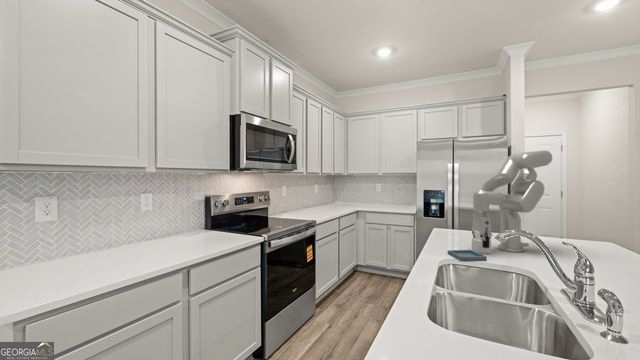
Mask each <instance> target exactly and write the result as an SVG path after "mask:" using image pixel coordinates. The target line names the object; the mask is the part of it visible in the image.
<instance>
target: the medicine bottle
mask: <svg viewBox="0 0 640 360" xmlns="http://www.w3.org/2000/svg"><path fill="white" fill-rule="evenodd" d="M485 235H486V234H485ZM475 237H476V238H473V237H471V250H472V251H475V252H477V253H479V254H482V255H485V254H486V255H488V254H492V241H491V240H490V241H489V248H483V240H484V239H483V236H482V235H480V232H479V231H475ZM486 237H487V236H485V238H486Z"/></svg>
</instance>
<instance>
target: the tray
mask: <svg viewBox="0 0 640 360" xmlns="http://www.w3.org/2000/svg"><path fill="white" fill-rule="evenodd" d="M447 255H449V256H451V257H452V256H453V257H452V258H454V257H455V259H457V260H459V261H460V262H480V261H481V262H484V261H485V262H486V261H488V260H487V256H486V255H485V254H479V253H477V252H475V251H473V250H472V249H449V250H447Z"/></svg>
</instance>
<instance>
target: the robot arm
mask: <svg viewBox="0 0 640 360" xmlns="http://www.w3.org/2000/svg"><path fill="white" fill-rule="evenodd" d="M552 161H553V155H552V153H551V152H550V151H549V150H544V149H543V150H536V151H527V152H525V151H524V152H522V153H517V154H510V155H509V156H508V157H507V158H506V160H505V161H504V162H503V165H502V166H501V168H500V169H499V170H498V172H497V174H495V175H494V176H492V177H491V178H489V179H487V180H486V181H485V182H484V183H483V184H482V186H481V187H480V188H479V190H478V191H475V192H473V197H472V198H473V199H472V201H473V202H472V203H473V207H472V208H473V213H472V214H473V215H472V216H473V218H472V227H471V228H470V231H471V234H472V238H476V237H475V231H479V232H480V235H482V236H483V239H484V240H483V248H489V241H491V239H492V236H493V233H492V224H491V217H490V205H493V206H498V207H499V213H500V233H501V232H502V231H505V230H509V229H517V230H521V229H522V225H521V224H522V218H521V216H520V214H519V213H524V214H527V213H530V212H532V211H534V209H535V208H536V206H537V205H538V203H539V202H540V200H541V198H542V197H543V195H544V193H545V185H544V183H543V182H542V181H541V180H537V178H538V174H537V171H536V169H537V168H540V167H544V166H549V165H550V164H551V163H552ZM511 183H512V184H511ZM509 184H511V186H510V189H509V190H510V194H509V193H507V194H506V193H505V194H504V193H503V192H501V191H495V190H496V189H498V188H500V187H503V186H506V185H509ZM521 231H522V230H521ZM485 234H486V235H485ZM485 236H487V237H486V238H485ZM524 247H530V244H529V243H528V242H522V236H521V237H520V236H513V237H510V238H508V239H507V241H506V242H501V241H500V244H498V245H497V247H496V248H497V249H498V250H501V251H505V252H512V253H523V252H525V248H524Z"/></svg>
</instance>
